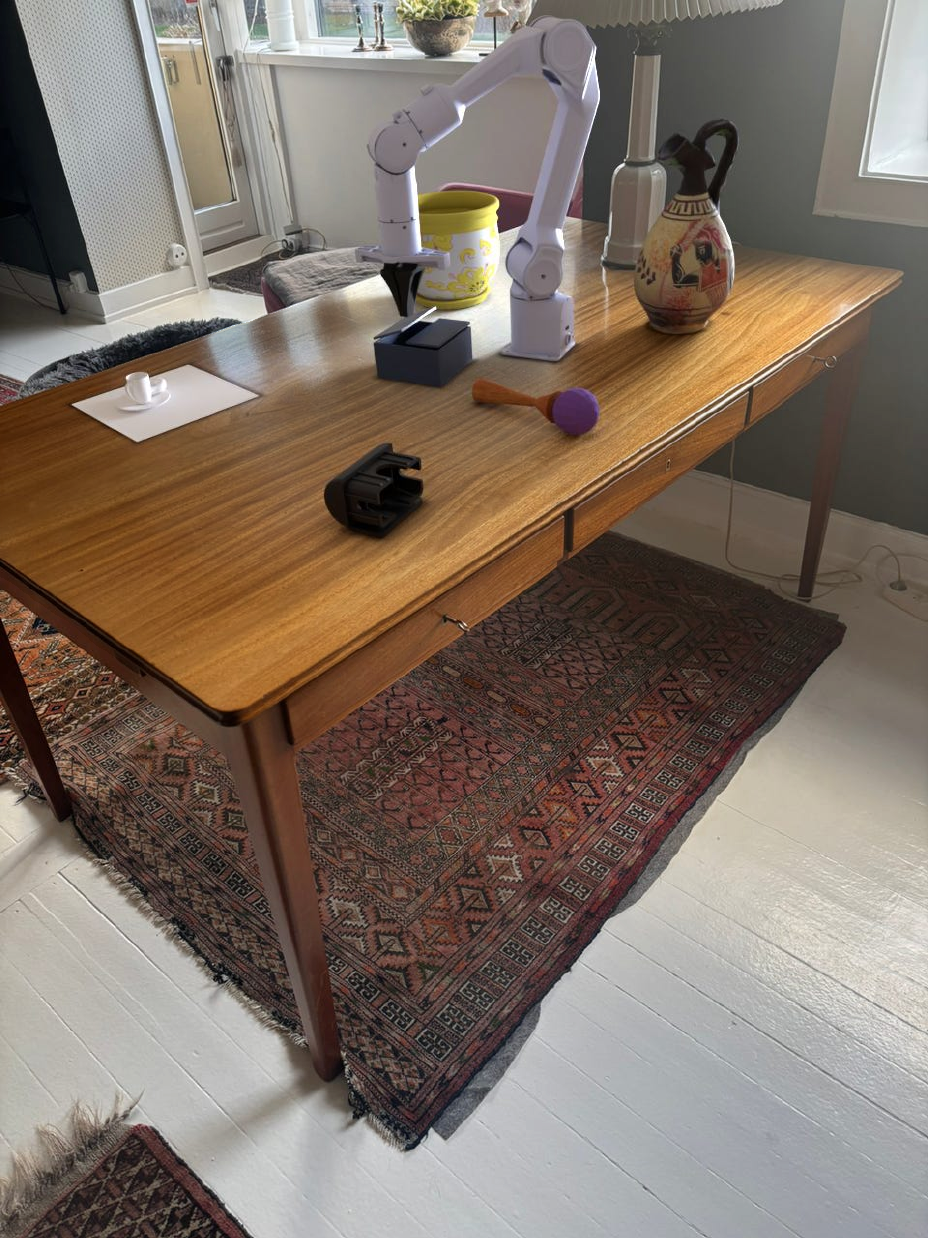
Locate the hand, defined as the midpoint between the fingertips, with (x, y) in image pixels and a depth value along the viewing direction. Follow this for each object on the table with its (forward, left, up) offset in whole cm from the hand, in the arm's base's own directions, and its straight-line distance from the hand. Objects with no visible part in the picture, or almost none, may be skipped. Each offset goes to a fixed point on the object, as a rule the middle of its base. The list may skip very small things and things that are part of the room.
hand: (407, 314), depth 139 cm
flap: (0, 0, -1) cm, 1 cm away
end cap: (-18, +41, -8) cm, 46 cm away
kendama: (-25, +11, -8) cm, 29 cm away
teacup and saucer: (+29, +23, -8) cm, 38 cm away
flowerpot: (+9, -32, -8) cm, 34 cm away
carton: (-2, 0, -8) cm, 8 cm away
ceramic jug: (-34, -31, -8) cm, 47 cm away
